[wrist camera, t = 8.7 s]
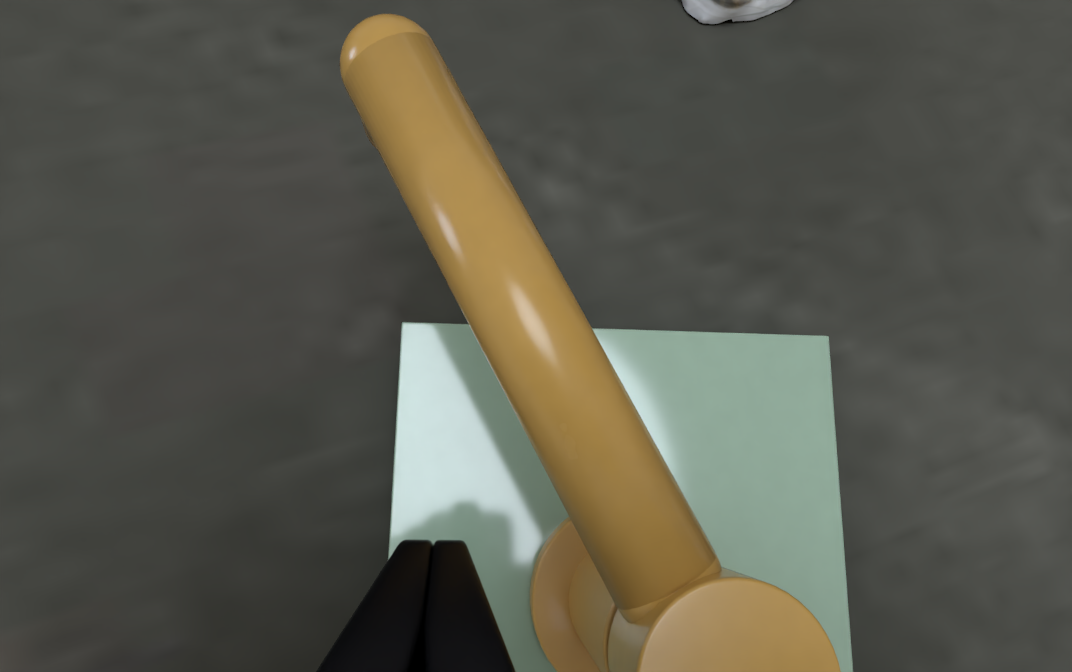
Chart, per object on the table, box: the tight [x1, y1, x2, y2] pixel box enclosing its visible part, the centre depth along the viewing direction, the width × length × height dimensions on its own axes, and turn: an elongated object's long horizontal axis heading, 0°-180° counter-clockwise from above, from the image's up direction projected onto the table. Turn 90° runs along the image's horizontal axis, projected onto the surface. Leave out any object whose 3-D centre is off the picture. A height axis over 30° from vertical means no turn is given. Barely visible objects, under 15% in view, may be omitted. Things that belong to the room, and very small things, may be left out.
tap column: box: [530, 517, 618, 672], centre depth 15 cm, size 5×5×6 cm
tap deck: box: [388, 322, 853, 672], centre depth 18 cm, size 14×12×2 cm
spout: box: [340, 14, 841, 672], centre depth 12 cm, size 14×3×3 cm, turn 28°
